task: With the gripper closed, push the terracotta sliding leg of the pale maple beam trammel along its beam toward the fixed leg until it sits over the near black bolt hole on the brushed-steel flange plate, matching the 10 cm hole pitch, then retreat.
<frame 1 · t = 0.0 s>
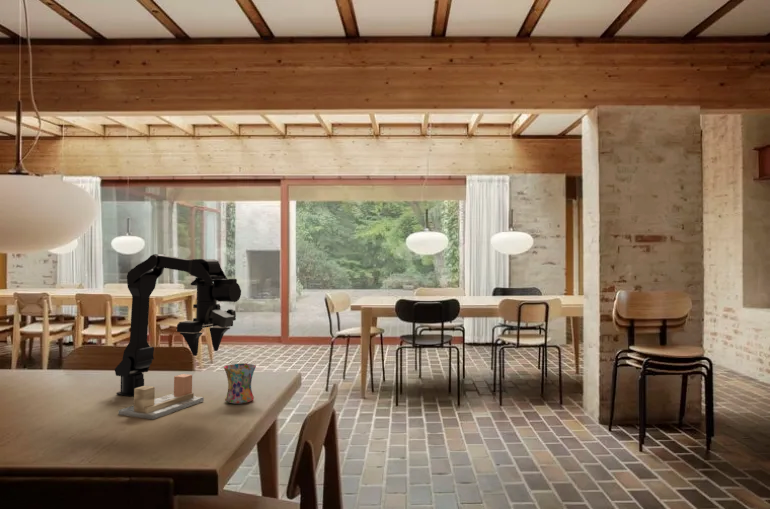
hand: (205, 353, 157), 15 cm above the table, fingers open, 9 cm apart
flange plate: (163, 407, 151), on the table
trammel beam: (165, 393, 151), on the flange plate, point 4 cm above the table
slide leg: (183, 385, 159), point 5 cm above the table, slide at 0.0 cm
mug: (238, 401, 160), on the table
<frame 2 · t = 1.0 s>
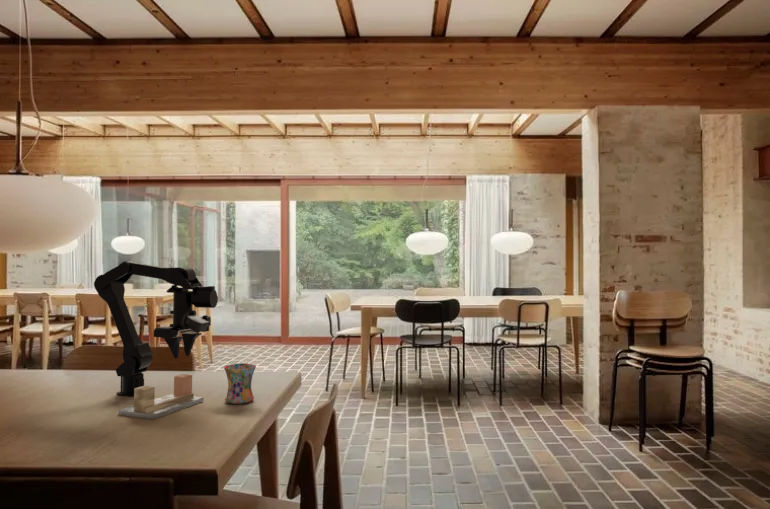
hand: (182, 357, 165), 12 cm above the table, fingers open, 5 cm apart
nothing on the table moved.
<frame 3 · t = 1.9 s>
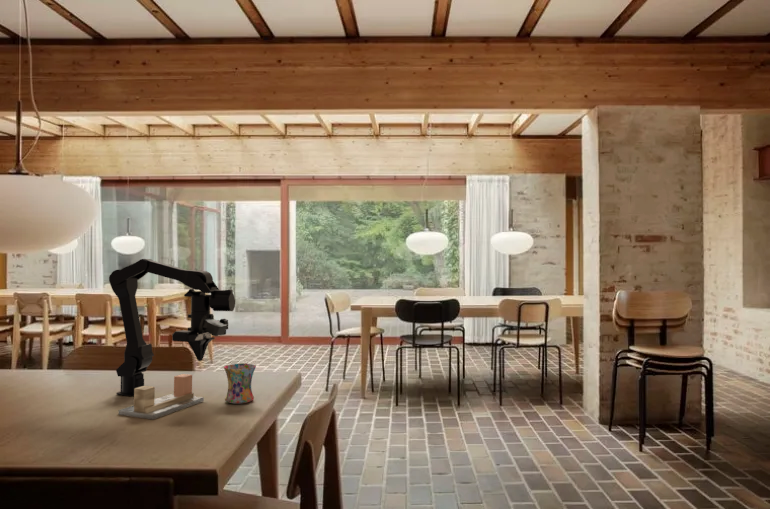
hand: (200, 360, 166), 11 cm above the table, fingers closed
nothing on the table moved.
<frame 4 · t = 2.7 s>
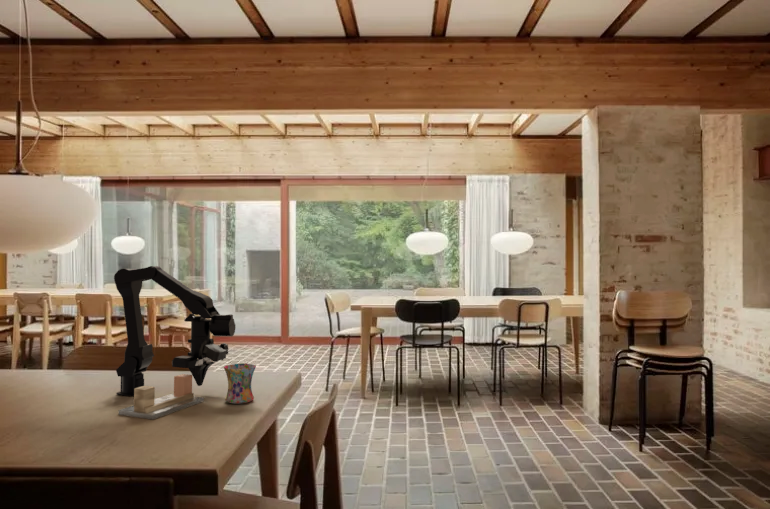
hand: (199, 385, 166), 3 cm above the table, fingers closed
nothing on the table moved.
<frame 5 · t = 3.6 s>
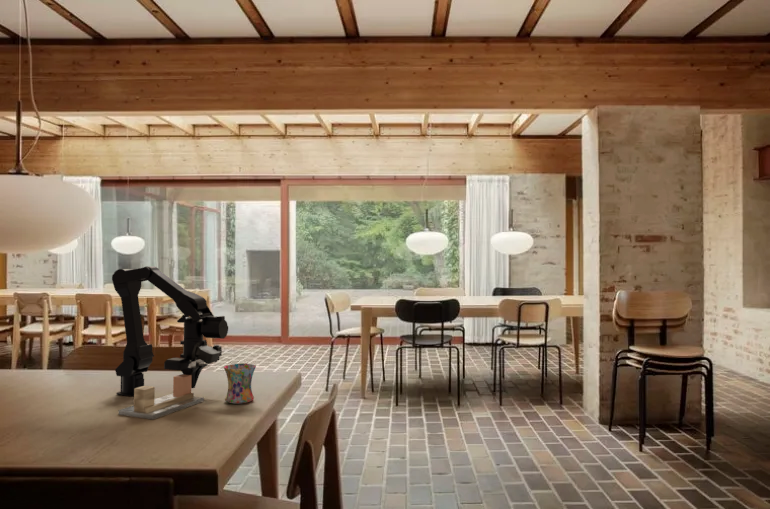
hand: (192, 388, 163), 3 cm above the table, fingers closed
slide leg: (182, 385, 159), point 5 cm above the table, slide at 0.3 cm, touching gripper
everything else where it was.
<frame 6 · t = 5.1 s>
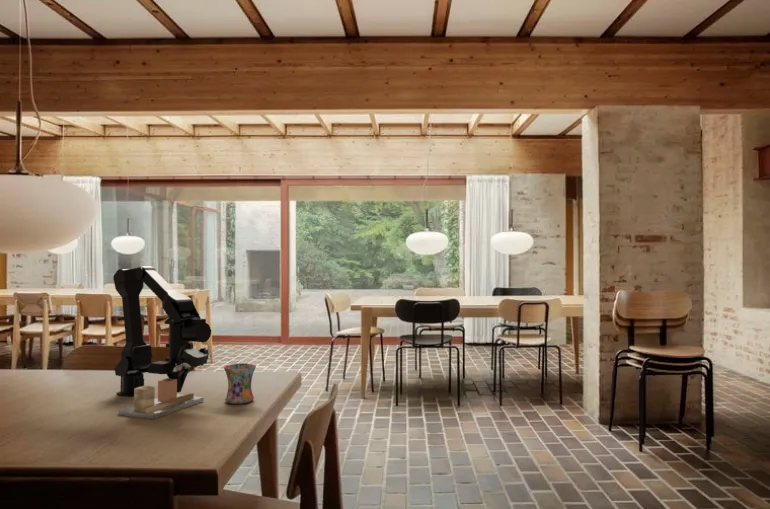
hand: (178, 392, 157), 3 cm above the table, fingers closed
slide leg: (167, 390, 153), point 5 cm above the table, slide at 6.4 cm, touching gripper
everything else where it was.
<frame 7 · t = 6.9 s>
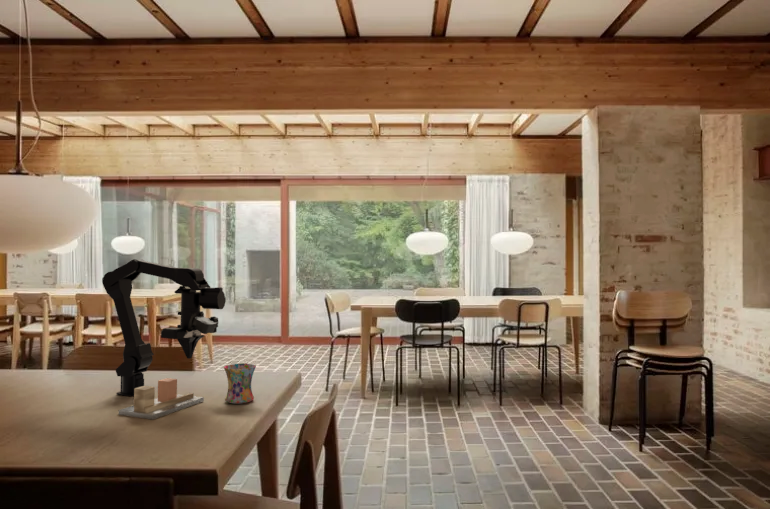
hand: (189, 358, 165), 12 cm above the table, fingers closed
slide leg: (167, 390, 153), point 5 cm above the table, slide at 6.4 cm
everything else where it was.
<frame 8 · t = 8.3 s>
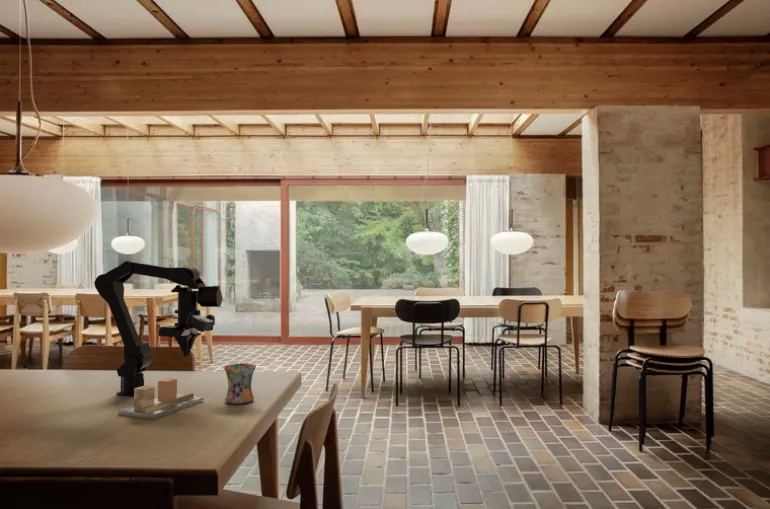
hand: (186, 356, 167), 12 cm above the table, fingers closed
nothing on the table moved.
at the end: slide leg slide at 6.4 cm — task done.
